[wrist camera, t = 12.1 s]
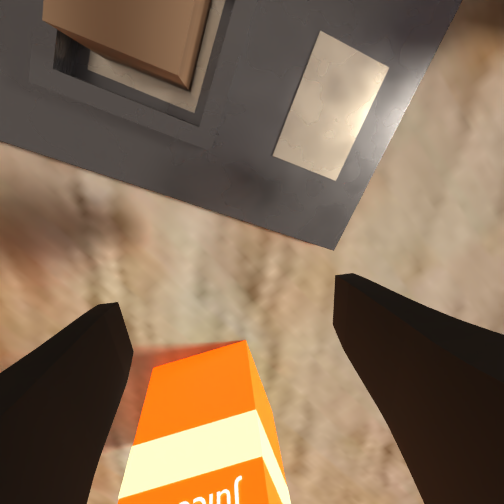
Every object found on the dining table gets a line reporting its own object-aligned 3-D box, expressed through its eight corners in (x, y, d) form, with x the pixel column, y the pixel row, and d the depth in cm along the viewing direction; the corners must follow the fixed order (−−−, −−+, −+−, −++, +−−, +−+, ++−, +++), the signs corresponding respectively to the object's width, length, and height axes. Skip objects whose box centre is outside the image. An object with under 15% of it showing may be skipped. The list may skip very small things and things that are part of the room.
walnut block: (213, -6, 13) (212, -82, 8) (190, 92, 14) (177, 75, 9) (117, -52, 12) (55, -168, 7) (103, 57, 13) (42, 19, 8)
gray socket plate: (446, 5, 15) (503, -25, 12) (327, 243, 20) (346, 264, 17) (-60, -320, 9) (-182, -518, 7) (-56, 115, 14) (-126, 112, 11)
